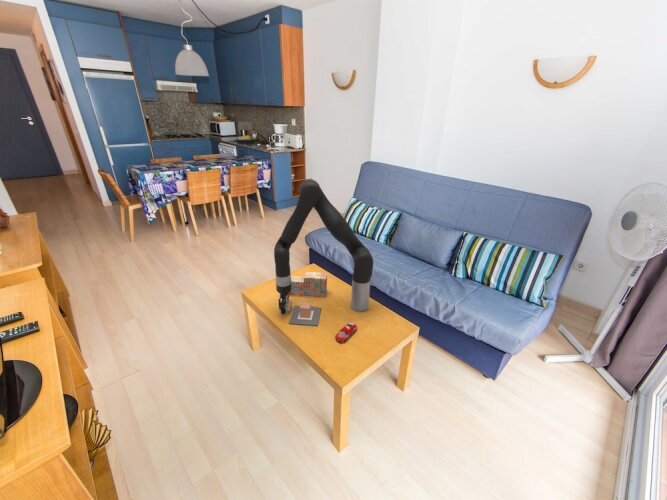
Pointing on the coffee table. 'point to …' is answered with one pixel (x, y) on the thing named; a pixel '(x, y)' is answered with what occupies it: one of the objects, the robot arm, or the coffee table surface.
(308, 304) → the block
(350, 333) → the race car
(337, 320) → the coffee table surface
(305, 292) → the stack of blocks
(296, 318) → the board
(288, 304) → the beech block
